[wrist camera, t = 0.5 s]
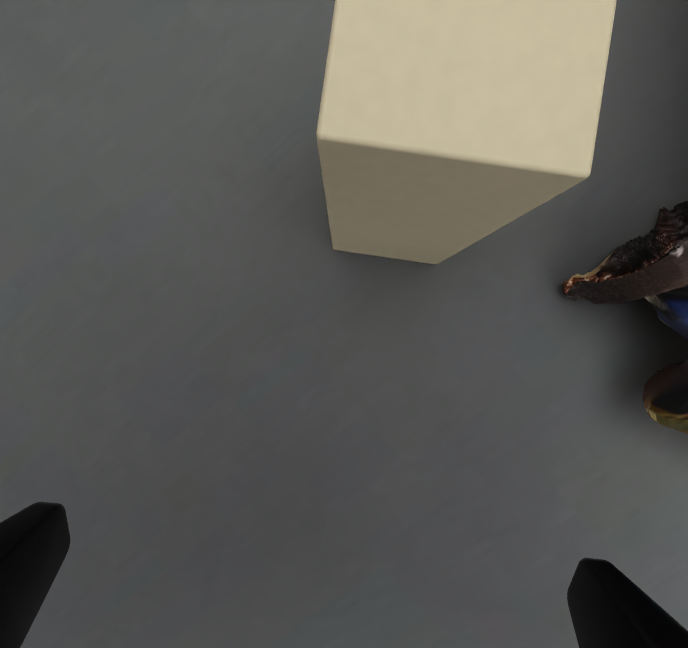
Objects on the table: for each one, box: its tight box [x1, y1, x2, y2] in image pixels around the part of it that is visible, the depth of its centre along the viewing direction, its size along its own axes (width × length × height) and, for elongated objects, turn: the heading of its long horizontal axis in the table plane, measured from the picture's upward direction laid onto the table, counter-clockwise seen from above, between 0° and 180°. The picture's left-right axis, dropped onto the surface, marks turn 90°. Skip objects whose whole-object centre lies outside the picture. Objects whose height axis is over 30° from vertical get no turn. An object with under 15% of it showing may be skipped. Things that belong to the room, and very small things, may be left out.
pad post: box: [316, 0, 617, 265], centre depth 13 cm, size 4×4×12 cm
